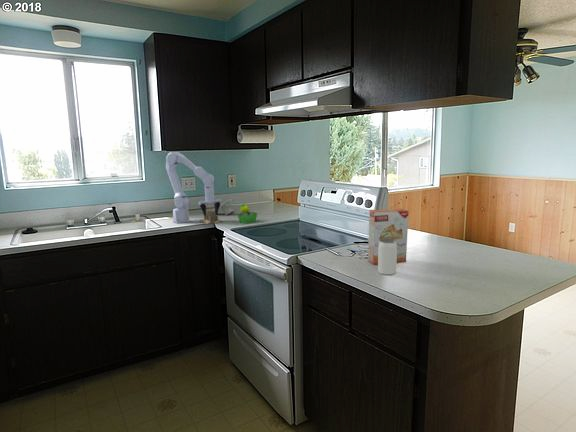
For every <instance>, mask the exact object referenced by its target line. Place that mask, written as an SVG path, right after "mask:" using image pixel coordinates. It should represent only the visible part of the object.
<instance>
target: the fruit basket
mask: <svg viewBox="0 0 576 432" xmlns="http://www.w3.org/2000/svg"><path fill="white" fill-rule="evenodd" d="M240 212H241V213H239V214H237V218H238V220H239V223H240V224H248V223H253V222H256V221H257V216H258V212H253V211H250V208H249V207H248V205H247V204H245V203H242V204H240Z"/></svg>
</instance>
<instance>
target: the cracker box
mask: <svg viewBox="0 0 576 432" xmlns="http://www.w3.org/2000/svg"><path fill="white" fill-rule="evenodd" d="M368 215H369V218H368V219H369V220H368V251H367V252H368V253H367V255H368V257H367V259H368V261H369V262H370V263H371V264H373V265H378V246H379V243H380V240H381V239H393V240H396V244H397V263H398V264H399V263H407V253H408V252H407V250H408V249H407V248H408V247H407V246H408V232H409V231H408V230H409V229H408V228H409V227H408V226H409V210H407V209H404V208H390V209H389V208H388V209H384V208H383V209H369V214H368Z"/></svg>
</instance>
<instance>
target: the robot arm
mask: <svg viewBox="0 0 576 432" xmlns="http://www.w3.org/2000/svg"><path fill="white" fill-rule="evenodd" d="M165 160H166V161H165V169H166V172H167V176H168V179H169V181H170V184H171V187H172V190H173V193H174V196H173V199H174V205H175V207H176V208H173V209H172V219H173V221H172V222H173V223H175V224H183V223H189V222H192V220H191V219H190V215H189V213H190V212H189V204H190V199H189V198H188V196H187V194H186V193H185V192H184V190H183V187H182V184H181V182H180V178H179V176H178V172H177V170H176V167H177V166H178V164H183V165H185V166H186V167H187V168H189V169H190V170H192V171H193V175H195V176H196V177H198V178H199V179H200V180H202V183H203V184H204V185H203V186H204V200H201V201H200V200H199V201H198V204H197V205H199V208H201V211H202V213H203V217H204V216H206V210H207V205H211V204H212V205H214V209H215V212H216V216H218V215H219V214H218V213H219V210H220V209H219V207H220V205H221V204H222V199H215V188H214V181H215V177H214V175H213V174H212V173H210V172H207V171H206V170H205V169H204V168H203V166H197V165H196V164H194V162H192V161H191V160H190V159H188V158H187V157H186V156H185V154H182V153H181V152H180V151H176V152H171V151H170V152H169V153H168V154H166V156H165Z"/></svg>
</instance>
